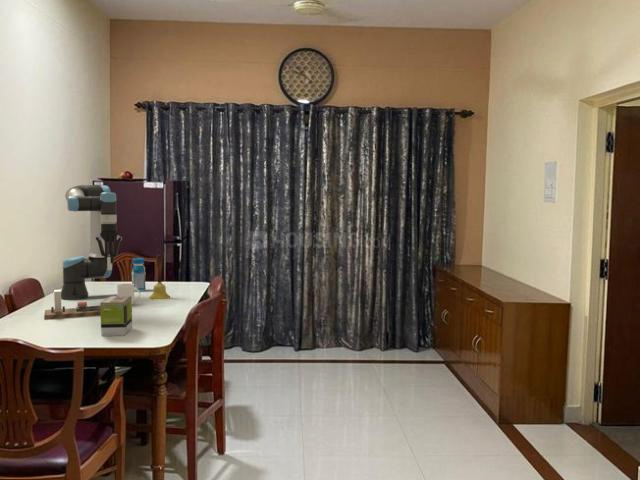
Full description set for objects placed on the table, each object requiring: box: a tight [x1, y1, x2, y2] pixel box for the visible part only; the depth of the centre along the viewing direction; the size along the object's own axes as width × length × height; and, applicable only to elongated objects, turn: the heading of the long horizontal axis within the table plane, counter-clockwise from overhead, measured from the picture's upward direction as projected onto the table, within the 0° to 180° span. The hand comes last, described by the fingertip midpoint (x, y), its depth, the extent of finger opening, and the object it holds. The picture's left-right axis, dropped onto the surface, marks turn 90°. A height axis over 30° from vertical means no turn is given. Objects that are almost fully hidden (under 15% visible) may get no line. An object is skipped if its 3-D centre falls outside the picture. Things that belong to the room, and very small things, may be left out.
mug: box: [116, 283, 141, 306], centre depth 324 cm, size 9×12×11 cm
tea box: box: [99, 295, 133, 337], centre depth 259 cm, size 15×10×15 cm
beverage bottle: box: [131, 257, 147, 292], centre depth 370 cm, size 8×8×20 cm
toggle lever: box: [53, 289, 62, 311], centre depth 290 cm, size 3×1×11 cm, turn 113°
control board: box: [43, 305, 101, 320], centre depth 297 cm, size 36×14×4 cm, turn 113°
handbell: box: [148, 254, 171, 300], centre depth 345 cm, size 12×12×25 cm
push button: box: [76, 301, 88, 307], centre depth 296 cm, size 4×4×2 cm
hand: (109, 269), depth 301 cm, fingers closed
